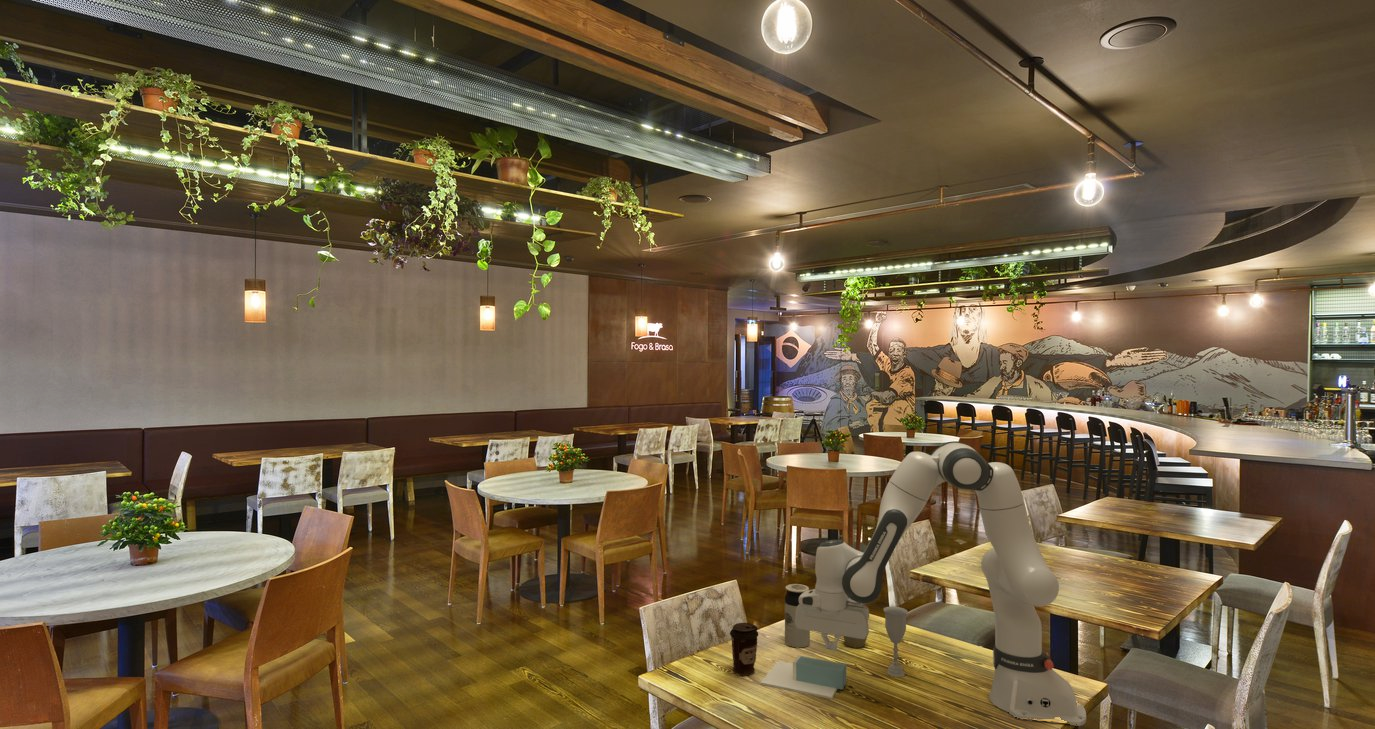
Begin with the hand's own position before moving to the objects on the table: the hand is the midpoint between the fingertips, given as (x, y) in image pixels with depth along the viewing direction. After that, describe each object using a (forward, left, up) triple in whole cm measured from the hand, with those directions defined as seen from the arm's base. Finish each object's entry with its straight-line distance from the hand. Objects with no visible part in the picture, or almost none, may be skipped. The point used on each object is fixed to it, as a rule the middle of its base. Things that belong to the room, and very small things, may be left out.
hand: (831, 648), depth 189 cm
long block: (-4, 0, -7) cm, 8 cm away
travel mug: (+17, -25, -10) cm, 32 cm away
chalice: (-15, -16, -10) cm, 24 cm away
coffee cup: (+25, +2, -10) cm, 27 cm away
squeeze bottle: (0, -32, -10) cm, 34 cm away
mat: (+8, 0, -10) cm, 13 cm away
